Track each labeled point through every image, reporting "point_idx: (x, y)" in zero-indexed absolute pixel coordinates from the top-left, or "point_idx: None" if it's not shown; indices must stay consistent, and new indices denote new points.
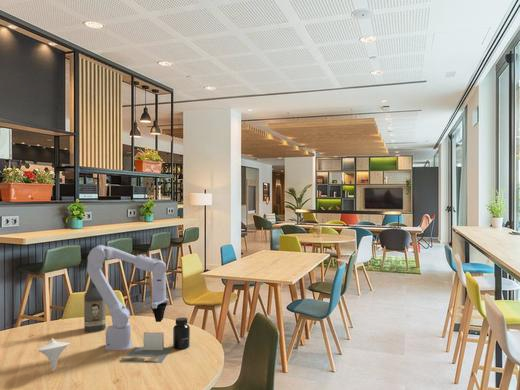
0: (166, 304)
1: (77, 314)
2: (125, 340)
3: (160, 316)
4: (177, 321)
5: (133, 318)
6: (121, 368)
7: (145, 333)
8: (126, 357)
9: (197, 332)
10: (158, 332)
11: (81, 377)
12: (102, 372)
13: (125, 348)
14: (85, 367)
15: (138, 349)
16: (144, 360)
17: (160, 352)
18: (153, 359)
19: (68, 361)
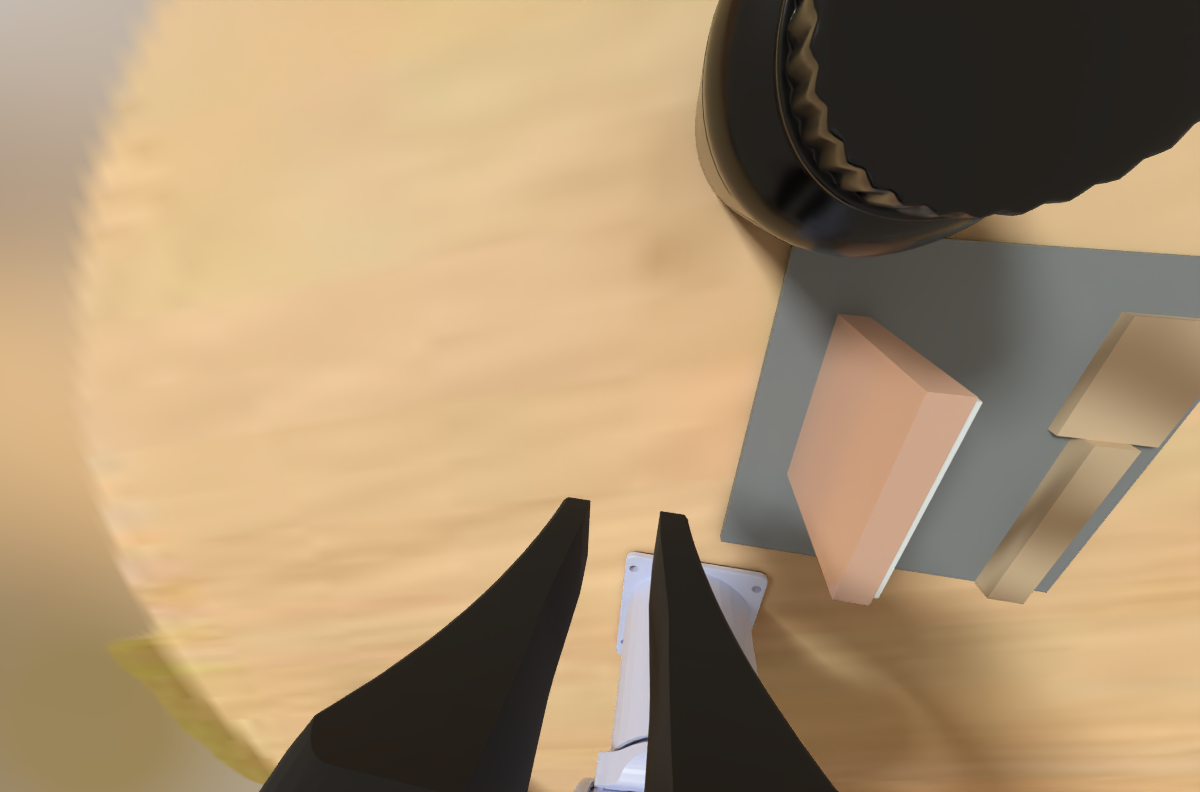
0: (437, 785)
1: (242, 765)
2: (742, 640)
3: (698, 596)
4: (1159, 125)
5: (179, 593)
6: (1168, 566)
7: (874, 586)
8: (1026, 577)
9: (264, 4)
10: (908, 460)
11: (1195, 725)
12: (1176, 652)
13: (752, 589)
14: (1011, 719)
15: (783, 513)
16: (1156, 441)
17: (924, 331)
18: (1179, 365)
19: (869, 771)
